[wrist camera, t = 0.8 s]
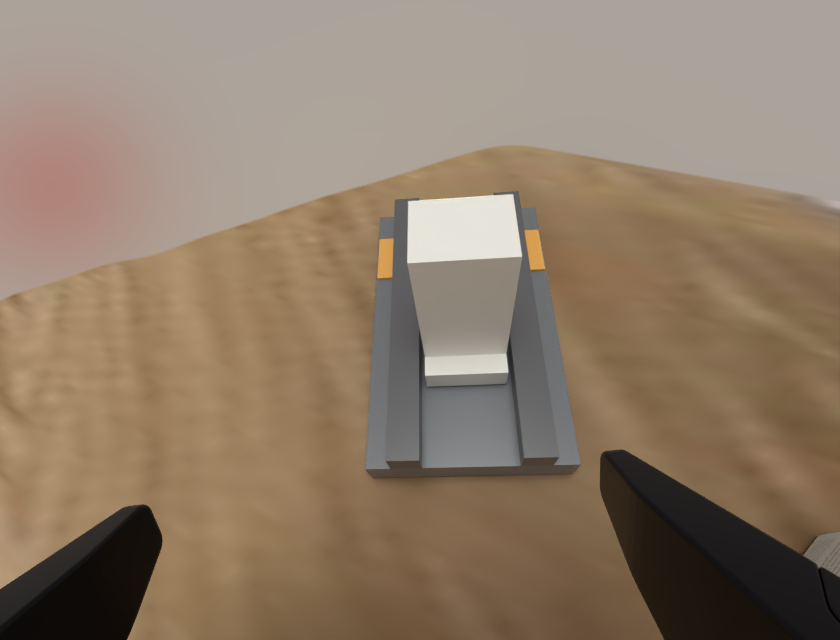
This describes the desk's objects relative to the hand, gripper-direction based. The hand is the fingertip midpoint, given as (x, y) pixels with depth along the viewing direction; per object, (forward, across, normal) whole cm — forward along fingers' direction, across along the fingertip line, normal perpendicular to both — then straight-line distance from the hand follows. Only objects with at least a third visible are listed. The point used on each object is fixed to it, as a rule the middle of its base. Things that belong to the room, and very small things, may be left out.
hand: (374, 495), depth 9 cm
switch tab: (+15, -3, +4) cm, 16 cm away
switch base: (+18, -3, +5) cm, 19 cm away
